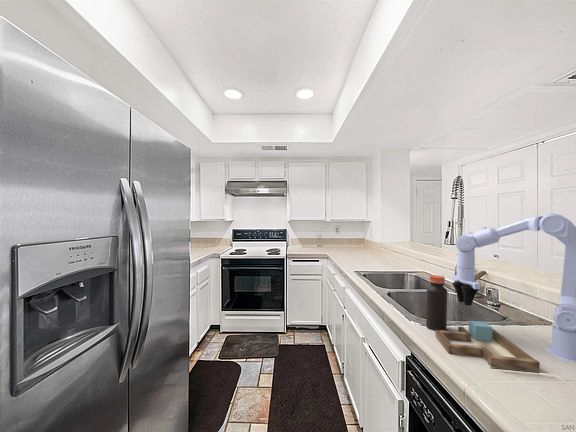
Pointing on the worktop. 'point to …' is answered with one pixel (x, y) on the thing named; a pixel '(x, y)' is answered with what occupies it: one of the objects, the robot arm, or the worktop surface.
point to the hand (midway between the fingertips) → (464, 303)
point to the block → (480, 331)
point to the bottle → (436, 304)
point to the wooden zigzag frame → (489, 350)
